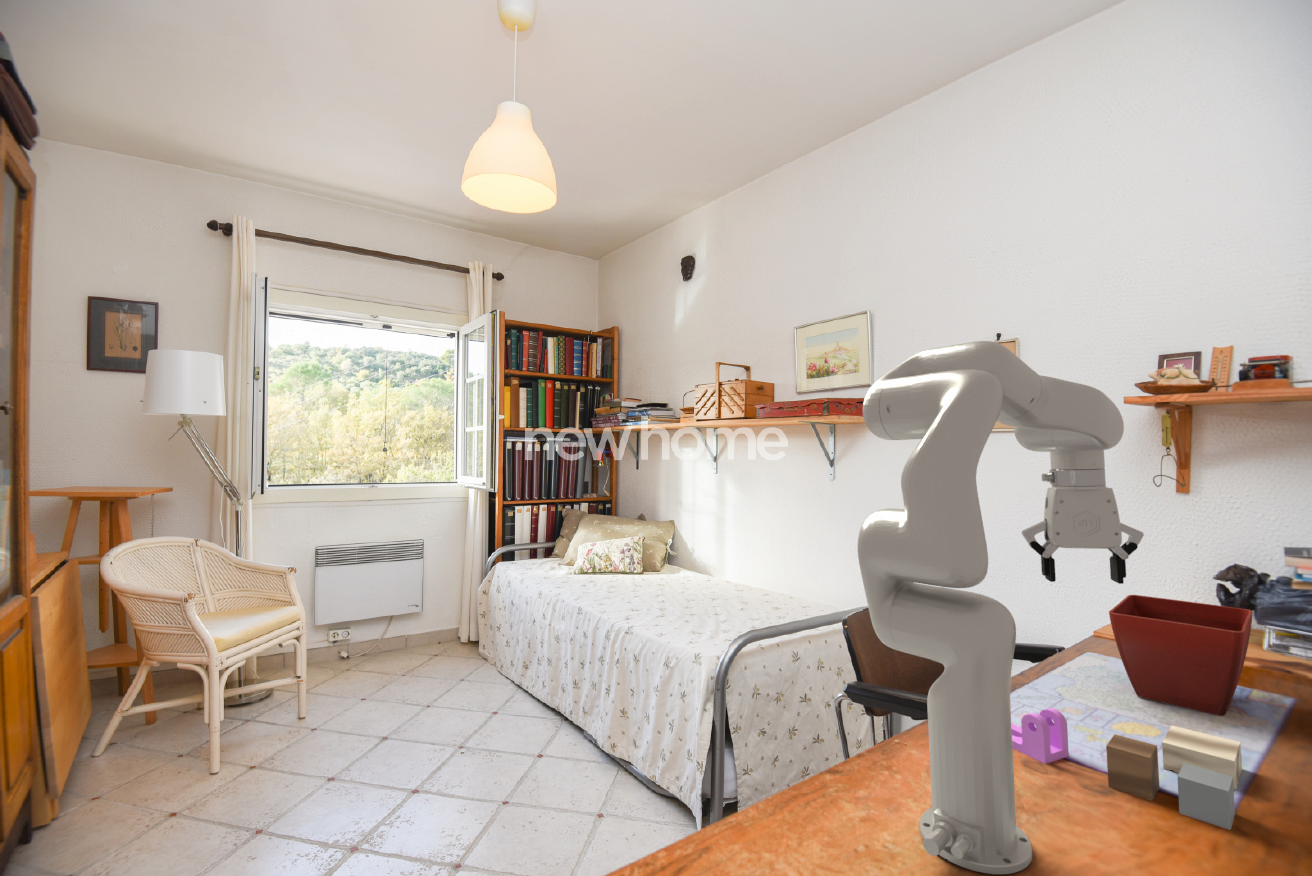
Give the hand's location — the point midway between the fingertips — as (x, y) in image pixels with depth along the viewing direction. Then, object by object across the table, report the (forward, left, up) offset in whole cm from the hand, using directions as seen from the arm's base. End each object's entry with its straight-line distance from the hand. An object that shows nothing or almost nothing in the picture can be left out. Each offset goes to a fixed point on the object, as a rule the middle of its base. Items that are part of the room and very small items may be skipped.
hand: (1083, 581), depth 101 cm
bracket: (-8, +8, -27) cm, 30 cm away
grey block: (-13, -16, -27) cm, 34 cm away
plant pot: (+32, -8, -27) cm, 43 cm away
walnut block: (-12, -8, -27) cm, 30 cm away
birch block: (+1, -14, -27) cm, 30 cm away
